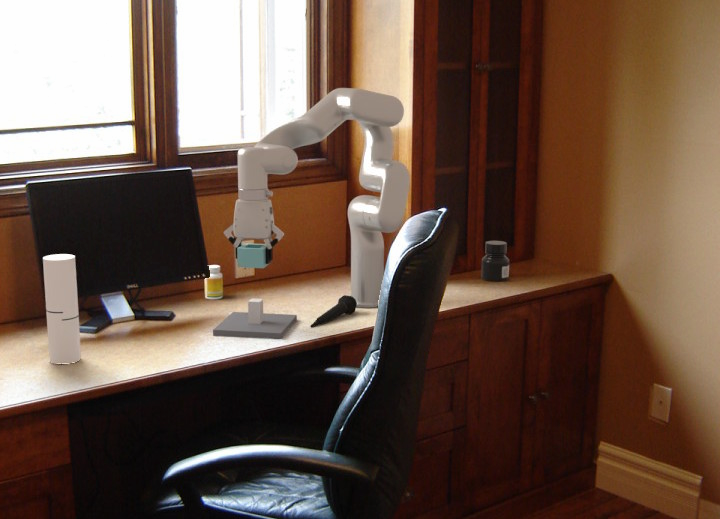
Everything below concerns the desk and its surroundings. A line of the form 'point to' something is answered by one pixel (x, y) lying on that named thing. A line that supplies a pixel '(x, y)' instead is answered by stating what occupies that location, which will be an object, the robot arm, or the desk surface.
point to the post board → (255, 323)
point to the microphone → (337, 310)
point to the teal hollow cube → (252, 255)
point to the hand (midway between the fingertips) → (254, 261)
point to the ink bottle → (495, 262)
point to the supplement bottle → (214, 283)
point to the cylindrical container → (62, 308)
